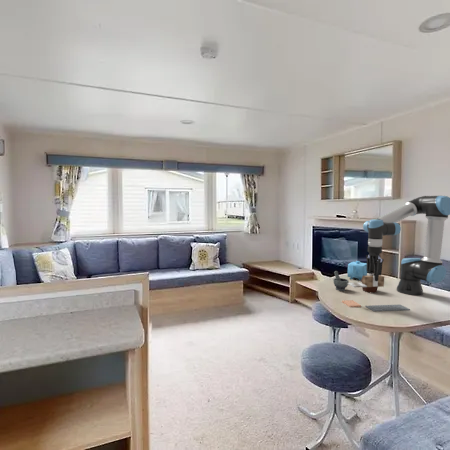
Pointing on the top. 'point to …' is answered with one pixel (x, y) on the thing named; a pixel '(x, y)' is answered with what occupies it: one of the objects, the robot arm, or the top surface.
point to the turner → (368, 282)
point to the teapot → (357, 270)
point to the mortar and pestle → (340, 282)
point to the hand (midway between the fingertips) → (373, 285)
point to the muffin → (369, 289)
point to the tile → (351, 303)
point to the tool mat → (387, 307)
